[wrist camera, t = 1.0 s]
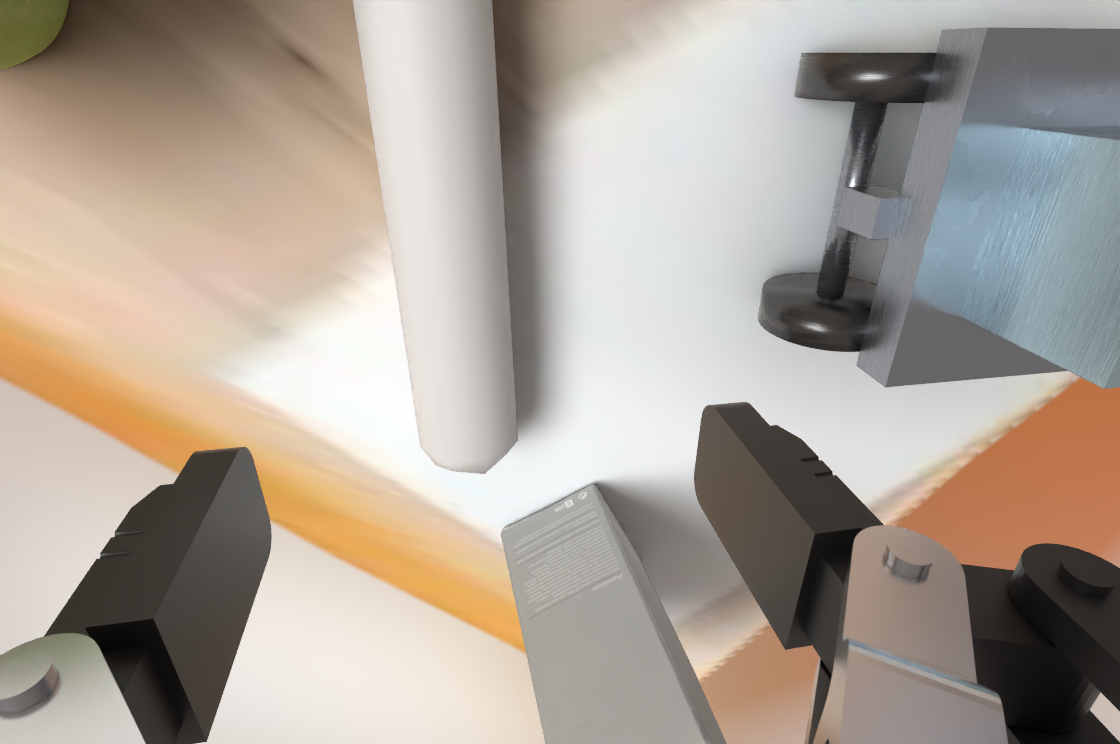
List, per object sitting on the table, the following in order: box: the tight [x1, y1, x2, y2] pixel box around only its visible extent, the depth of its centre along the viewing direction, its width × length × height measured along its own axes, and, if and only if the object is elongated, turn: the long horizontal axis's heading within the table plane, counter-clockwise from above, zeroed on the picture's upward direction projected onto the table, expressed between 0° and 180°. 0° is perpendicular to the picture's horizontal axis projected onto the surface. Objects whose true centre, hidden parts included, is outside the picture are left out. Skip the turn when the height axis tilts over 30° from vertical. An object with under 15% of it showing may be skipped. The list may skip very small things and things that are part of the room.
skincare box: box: [501, 485, 727, 744], centre depth 30 cm, size 8×7×16 cm
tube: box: [353, 0, 518, 474], centre depth 25 cm, size 5×5×25 cm
